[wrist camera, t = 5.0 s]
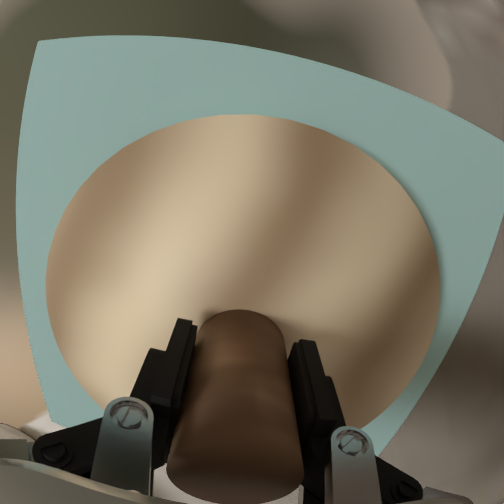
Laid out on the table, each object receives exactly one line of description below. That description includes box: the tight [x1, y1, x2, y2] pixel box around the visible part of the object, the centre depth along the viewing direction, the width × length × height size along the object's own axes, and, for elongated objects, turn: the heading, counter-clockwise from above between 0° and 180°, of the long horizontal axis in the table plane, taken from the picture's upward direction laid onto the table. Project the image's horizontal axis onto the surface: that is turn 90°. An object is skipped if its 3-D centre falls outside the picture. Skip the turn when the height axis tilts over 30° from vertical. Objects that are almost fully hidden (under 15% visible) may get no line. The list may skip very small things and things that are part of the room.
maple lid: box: [45, 114, 440, 504], centre depth 10 cm, size 17×17×7 cm
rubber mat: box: [16, 36, 504, 457], centre depth 14 cm, size 22×22×1 cm
